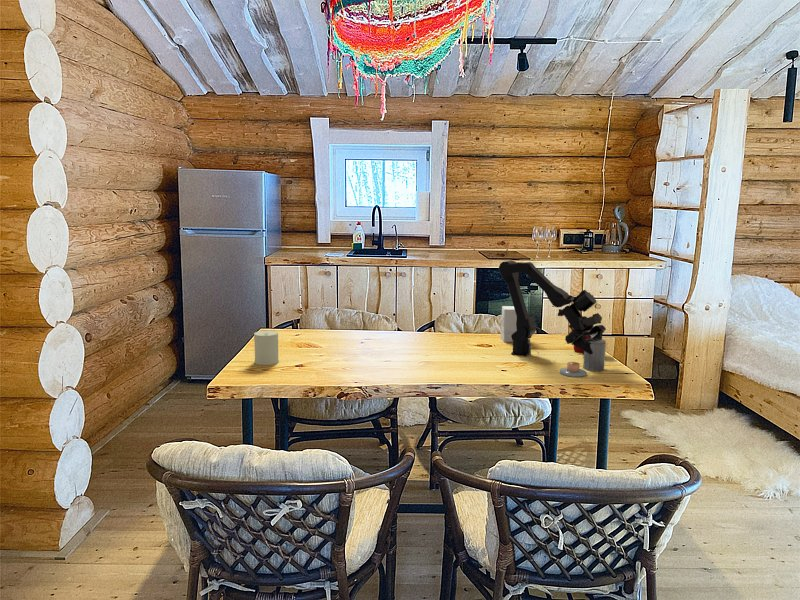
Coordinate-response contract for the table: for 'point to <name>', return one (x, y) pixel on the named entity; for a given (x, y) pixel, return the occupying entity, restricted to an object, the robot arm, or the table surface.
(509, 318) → the supplement box
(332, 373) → the table surface
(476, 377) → the table surface
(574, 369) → the bowl saucer
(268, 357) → the can
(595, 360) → the grey flanged cylinder
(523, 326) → the robot arm
